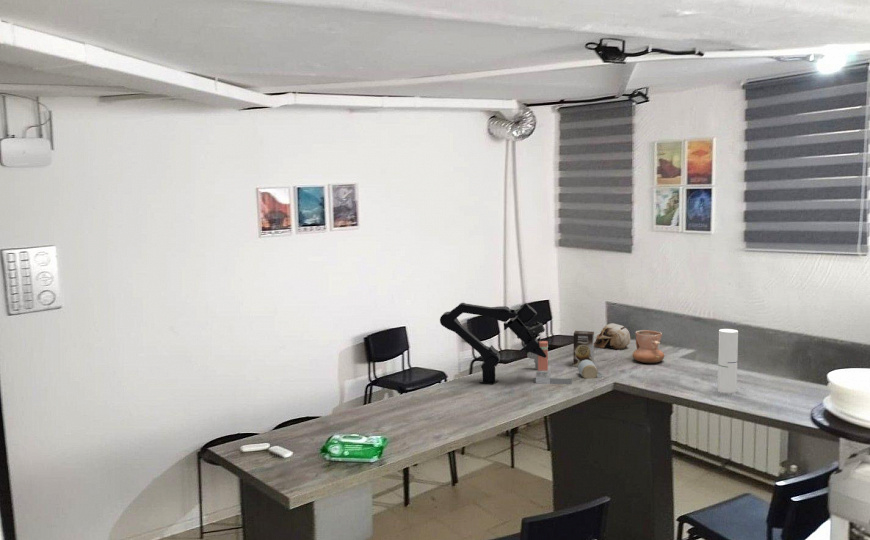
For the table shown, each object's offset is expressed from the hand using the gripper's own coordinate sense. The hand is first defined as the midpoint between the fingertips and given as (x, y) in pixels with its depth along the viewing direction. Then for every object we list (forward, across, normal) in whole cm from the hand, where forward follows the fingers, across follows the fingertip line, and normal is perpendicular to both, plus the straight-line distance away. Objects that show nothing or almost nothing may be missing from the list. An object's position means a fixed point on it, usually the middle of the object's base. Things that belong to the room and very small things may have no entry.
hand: (546, 355), depth 305 cm
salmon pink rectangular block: (+3, 0, +5) cm, 6 cm away
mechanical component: (+5, +19, +12) cm, 23 cm away
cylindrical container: (+60, -3, -44) cm, 74 cm away
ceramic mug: (+22, +11, -5) cm, 25 cm away
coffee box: (+20, +32, -3) cm, 38 cm away
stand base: (+11, 0, +7) cm, 13 cm away
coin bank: (+30, +71, -13) cm, 78 cm away
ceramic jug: (+41, +43, -24) cm, 64 cm away
